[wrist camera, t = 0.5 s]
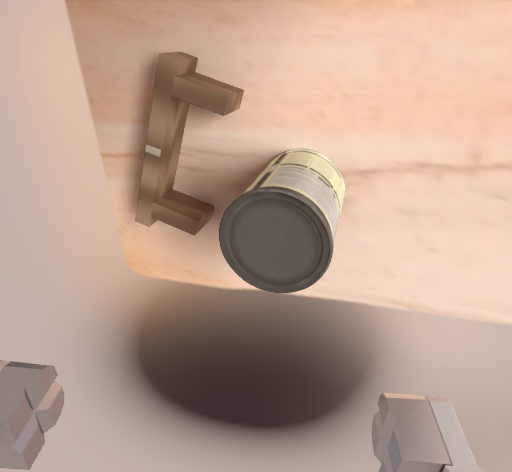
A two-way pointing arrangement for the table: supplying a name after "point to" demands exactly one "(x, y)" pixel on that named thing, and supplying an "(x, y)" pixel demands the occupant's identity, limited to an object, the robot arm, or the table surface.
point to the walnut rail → (177, 140)
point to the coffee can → (285, 223)
